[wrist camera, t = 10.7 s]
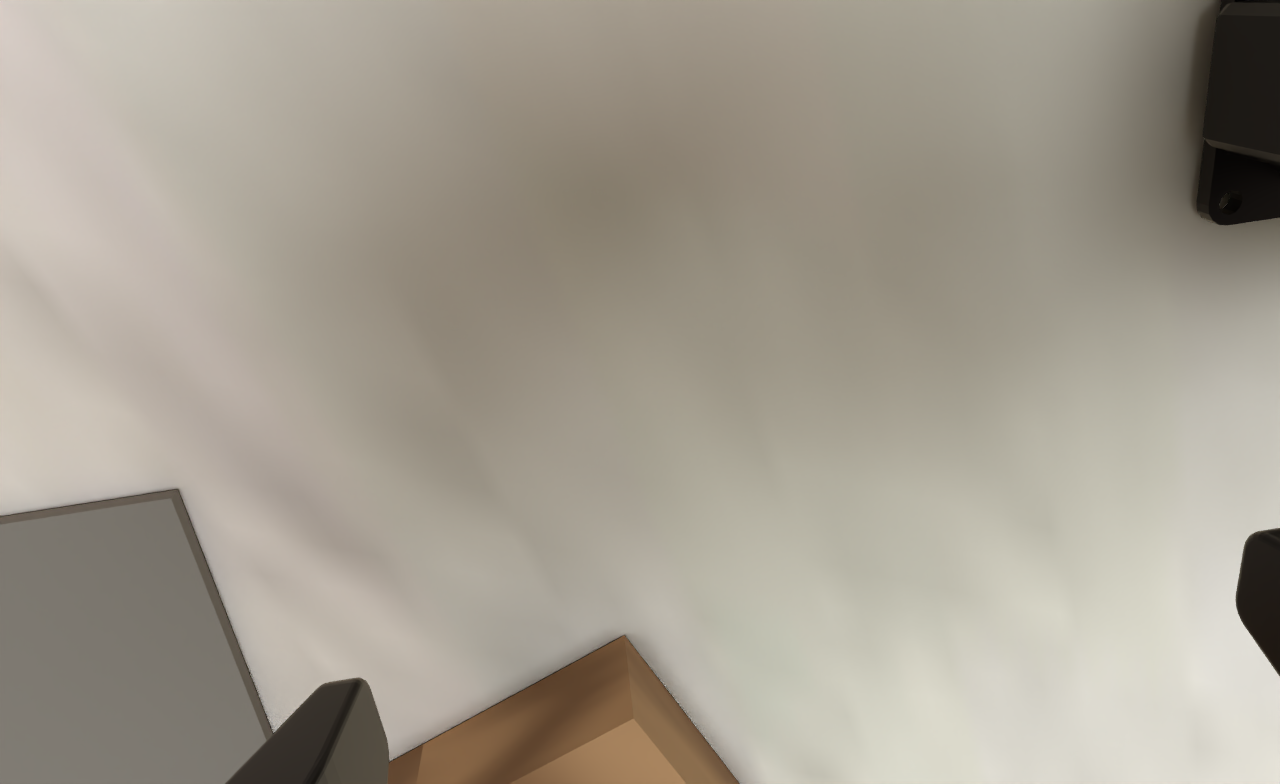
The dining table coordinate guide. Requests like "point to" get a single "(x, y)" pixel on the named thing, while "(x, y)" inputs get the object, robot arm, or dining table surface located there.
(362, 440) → the dining table surface
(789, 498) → the dining table surface
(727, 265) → the dining table surface
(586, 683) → the socket block
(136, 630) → the mat
